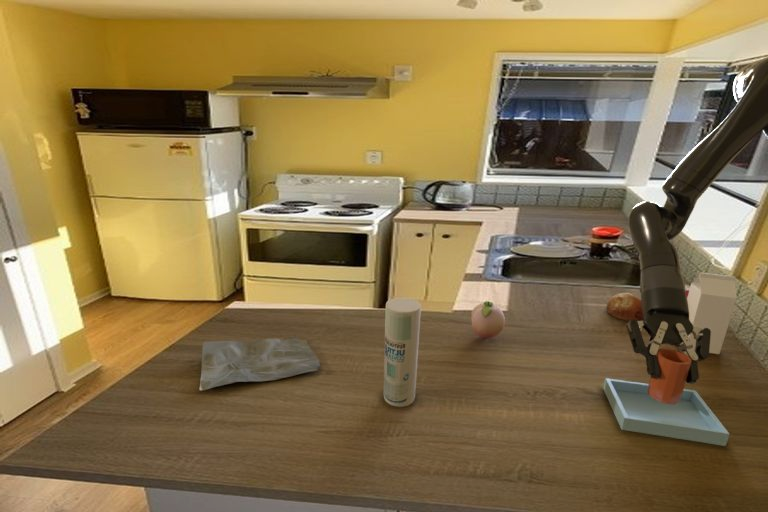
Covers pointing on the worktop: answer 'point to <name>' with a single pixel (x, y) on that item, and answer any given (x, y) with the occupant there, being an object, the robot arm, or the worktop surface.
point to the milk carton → (712, 306)
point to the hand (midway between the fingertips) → (673, 379)
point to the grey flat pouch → (254, 361)
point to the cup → (670, 376)
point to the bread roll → (625, 307)
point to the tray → (664, 413)
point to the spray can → (401, 350)
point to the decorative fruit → (487, 320)
